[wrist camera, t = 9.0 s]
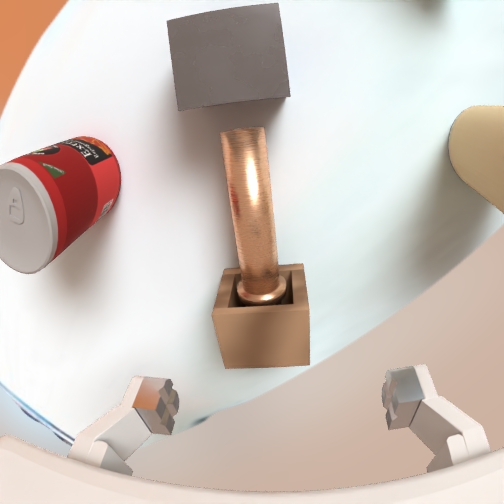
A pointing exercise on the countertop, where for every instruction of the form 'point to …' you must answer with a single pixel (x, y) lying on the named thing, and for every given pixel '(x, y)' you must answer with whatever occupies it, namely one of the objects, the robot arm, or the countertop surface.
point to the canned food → (54, 199)
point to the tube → (253, 216)
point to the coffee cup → (480, 151)
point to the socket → (263, 324)
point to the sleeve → (228, 56)
